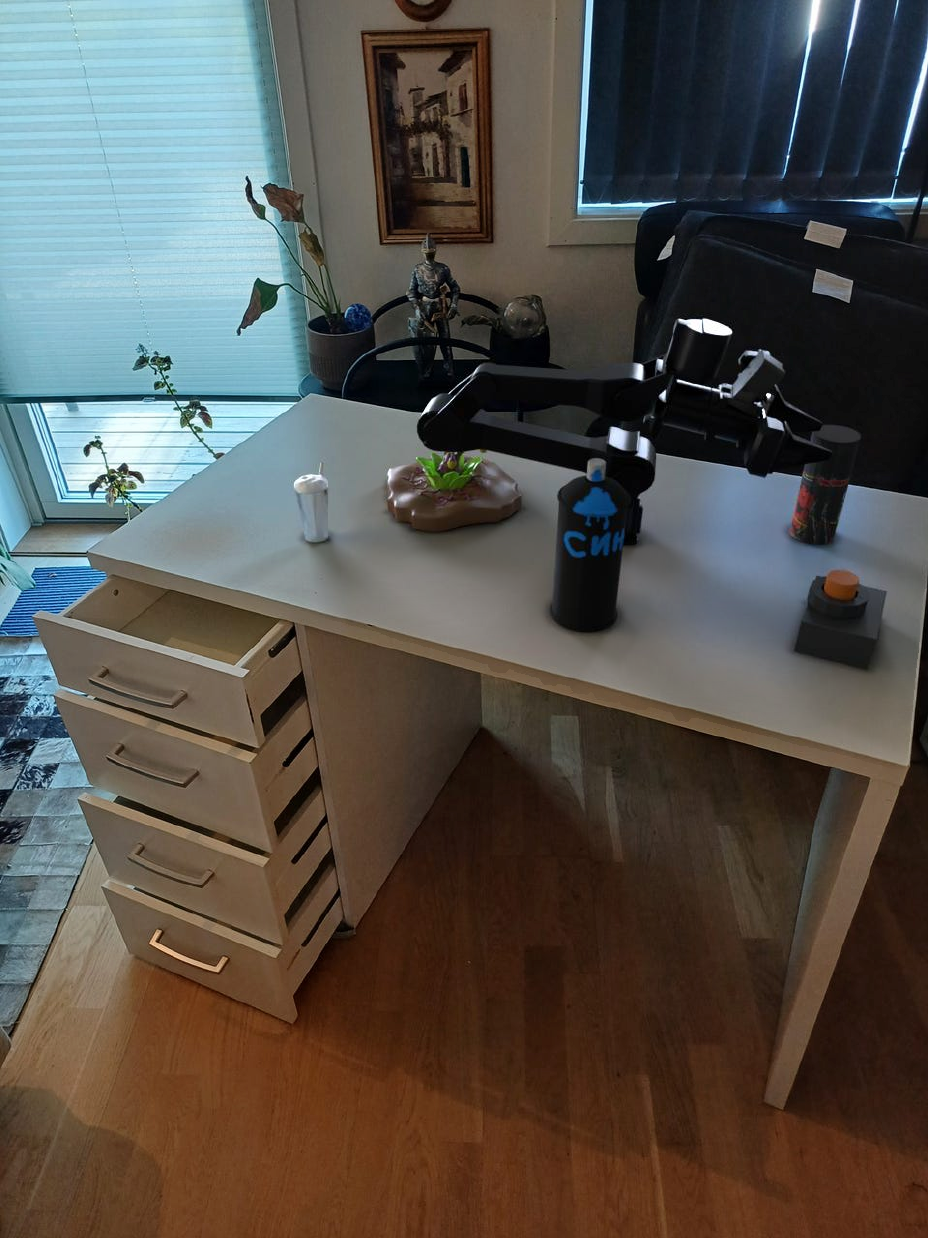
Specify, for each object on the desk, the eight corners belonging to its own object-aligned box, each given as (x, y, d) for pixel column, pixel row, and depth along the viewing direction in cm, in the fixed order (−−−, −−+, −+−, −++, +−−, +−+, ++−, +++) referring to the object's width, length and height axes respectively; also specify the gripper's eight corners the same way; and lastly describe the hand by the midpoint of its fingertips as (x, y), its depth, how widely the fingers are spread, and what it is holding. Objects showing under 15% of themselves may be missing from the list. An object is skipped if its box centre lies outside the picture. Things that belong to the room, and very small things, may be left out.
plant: (491, 462, 145) (492, 395, 139) (536, 517, 130) (539, 444, 124) (370, 479, 140) (365, 410, 134) (402, 538, 125) (398, 463, 119)
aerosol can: (544, 596, 113) (553, 447, 101) (609, 593, 113) (625, 445, 102) (555, 634, 106) (566, 479, 95) (624, 631, 107) (643, 476, 95)
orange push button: (852, 604, 101) (857, 588, 100) (821, 596, 102) (825, 580, 101) (856, 589, 104) (861, 573, 103) (825, 582, 105) (829, 566, 104)
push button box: (867, 670, 100) (881, 626, 97) (792, 650, 103) (803, 607, 100) (877, 620, 108) (891, 577, 105) (807, 603, 111) (818, 561, 108)
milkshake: (342, 530, 127) (336, 465, 121) (321, 548, 123) (315, 481, 117) (314, 524, 128) (308, 459, 123) (293, 541, 124) (285, 474, 119)
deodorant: (836, 546, 123) (864, 444, 115) (791, 542, 124) (815, 440, 116) (831, 526, 128) (857, 426, 119) (787, 522, 129) (810, 423, 120)
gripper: (729, 374, 102) (866, 408, 101) (723, 326, 117) (842, 355, 116) (697, 462, 108) (825, 495, 107) (695, 406, 123) (807, 434, 122)
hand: (826, 440), depth 113 cm, fingers open, 9 cm apart
